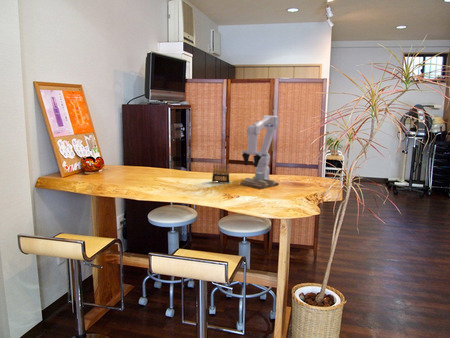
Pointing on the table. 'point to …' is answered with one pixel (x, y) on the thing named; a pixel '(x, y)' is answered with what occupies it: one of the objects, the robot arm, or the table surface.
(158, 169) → the table surface
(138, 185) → the table surface
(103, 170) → the table surface
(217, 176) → the ammunition clip
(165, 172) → the table surface
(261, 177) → the tab block
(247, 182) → the notched board
